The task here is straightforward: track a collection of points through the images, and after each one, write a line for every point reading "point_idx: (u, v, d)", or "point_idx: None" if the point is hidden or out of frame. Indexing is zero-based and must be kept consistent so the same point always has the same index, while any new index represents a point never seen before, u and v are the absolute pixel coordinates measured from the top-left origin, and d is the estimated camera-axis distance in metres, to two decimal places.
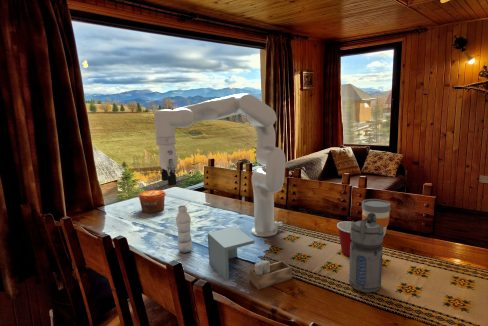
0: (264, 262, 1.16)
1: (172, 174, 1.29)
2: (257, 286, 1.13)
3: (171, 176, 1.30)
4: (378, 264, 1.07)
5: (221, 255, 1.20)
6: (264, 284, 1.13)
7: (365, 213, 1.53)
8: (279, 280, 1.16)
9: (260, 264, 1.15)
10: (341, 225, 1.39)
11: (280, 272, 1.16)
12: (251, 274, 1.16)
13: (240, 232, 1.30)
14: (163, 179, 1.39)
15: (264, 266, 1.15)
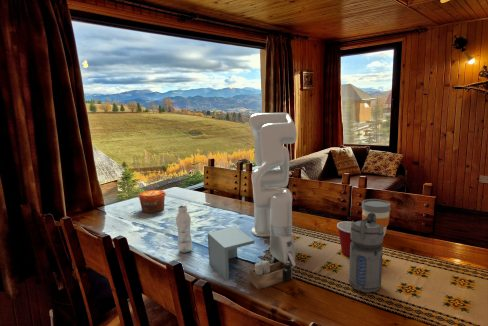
0: (264, 262, 1.16)
1: (289, 269, 1.15)
2: (257, 286, 1.13)
3: (287, 271, 1.16)
4: (378, 264, 1.07)
5: (221, 255, 1.20)
6: (264, 284, 1.13)
7: (365, 213, 1.53)
8: (279, 280, 1.16)
9: (260, 264, 1.15)
10: (341, 225, 1.39)
11: (280, 272, 1.16)
12: (251, 274, 1.16)
13: (240, 232, 1.30)
14: None
15: (264, 266, 1.15)
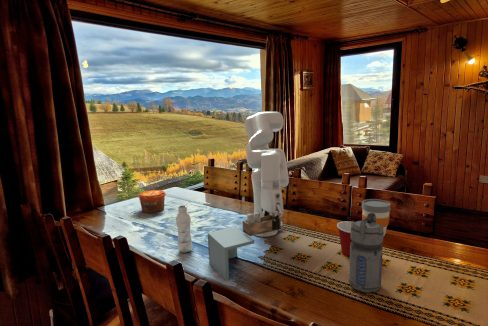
0: (255, 213, 1.30)
1: (278, 219, 1.29)
2: (249, 233, 1.27)
3: (276, 221, 1.30)
4: (378, 264, 1.07)
5: (221, 255, 1.20)
6: (255, 231, 1.28)
7: (365, 213, 1.53)
8: (269, 229, 1.30)
9: (252, 214, 1.29)
10: (341, 225, 1.39)
11: (270, 222, 1.30)
12: (244, 224, 1.30)
13: (240, 232, 1.30)
14: None
15: (255, 216, 1.29)
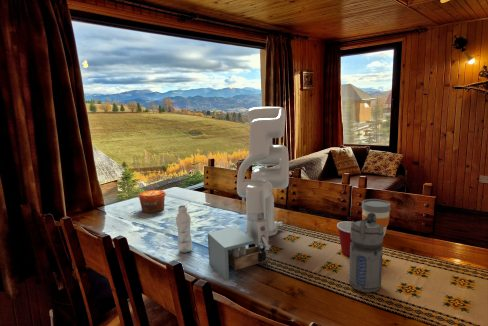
0: None
1: (263, 251, 1.28)
2: (234, 267, 1.27)
3: (262, 253, 1.29)
4: (378, 264, 1.07)
5: (221, 255, 1.20)
6: (240, 265, 1.27)
7: (365, 213, 1.53)
8: (254, 262, 1.30)
9: None
10: (341, 225, 1.39)
11: (255, 255, 1.30)
12: (229, 256, 1.30)
13: (240, 232, 1.30)
14: None
15: (240, 249, 1.29)
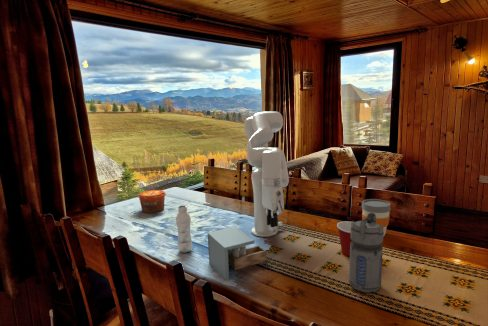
0: None
1: (276, 216, 1.32)
2: (234, 267, 1.27)
3: (274, 218, 1.32)
4: (378, 264, 1.07)
5: (221, 255, 1.20)
6: (240, 265, 1.27)
7: (365, 213, 1.53)
8: (254, 262, 1.30)
9: None
10: (341, 225, 1.39)
11: (255, 255, 1.30)
12: (229, 256, 1.30)
13: (240, 232, 1.30)
14: (268, 223, 1.35)
15: (240, 249, 1.29)
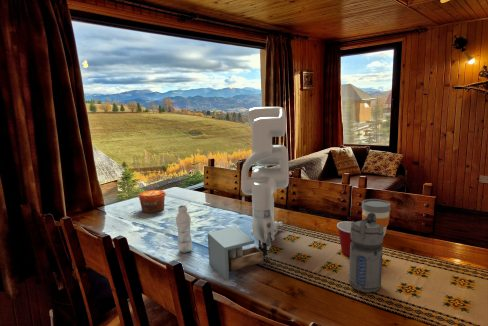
0: None
1: (265, 246, 1.32)
2: (230, 268, 1.26)
3: (264, 248, 1.33)
4: (378, 264, 1.07)
5: (221, 255, 1.20)
6: (237, 266, 1.26)
7: (365, 213, 1.53)
8: (251, 263, 1.29)
9: None
10: (341, 225, 1.39)
11: (252, 256, 1.29)
12: None
13: (240, 232, 1.30)
14: None
15: (237, 250, 1.28)
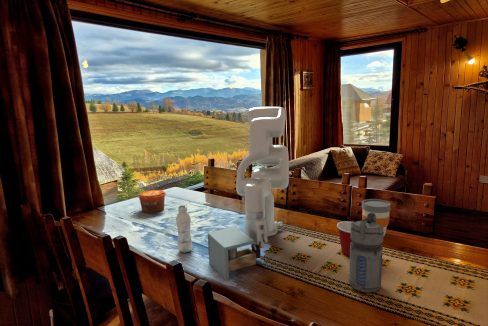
0: None
1: (258, 248, 1.31)
2: None
3: (257, 250, 1.31)
4: (378, 264, 1.07)
5: (221, 255, 1.20)
6: (229, 268, 1.25)
7: (365, 213, 1.53)
8: (244, 265, 1.28)
9: None
10: (341, 225, 1.39)
11: (244, 257, 1.28)
12: None
13: (240, 232, 1.30)
14: None
15: (230, 252, 1.27)
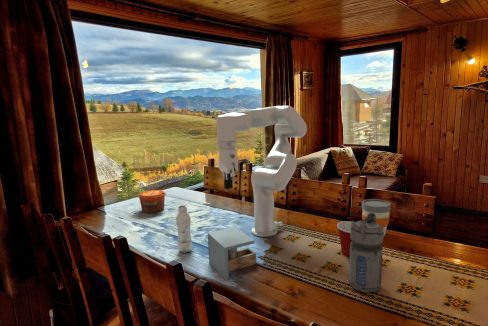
0: None
1: (230, 178, 1.37)
2: None
3: (229, 180, 1.38)
4: (378, 264, 1.07)
5: (221, 255, 1.20)
6: (229, 268, 1.25)
7: (365, 213, 1.53)
8: (244, 265, 1.28)
9: None
10: (341, 225, 1.39)
11: (244, 257, 1.28)
12: None
13: (240, 232, 1.30)
14: None
15: (230, 252, 1.27)
